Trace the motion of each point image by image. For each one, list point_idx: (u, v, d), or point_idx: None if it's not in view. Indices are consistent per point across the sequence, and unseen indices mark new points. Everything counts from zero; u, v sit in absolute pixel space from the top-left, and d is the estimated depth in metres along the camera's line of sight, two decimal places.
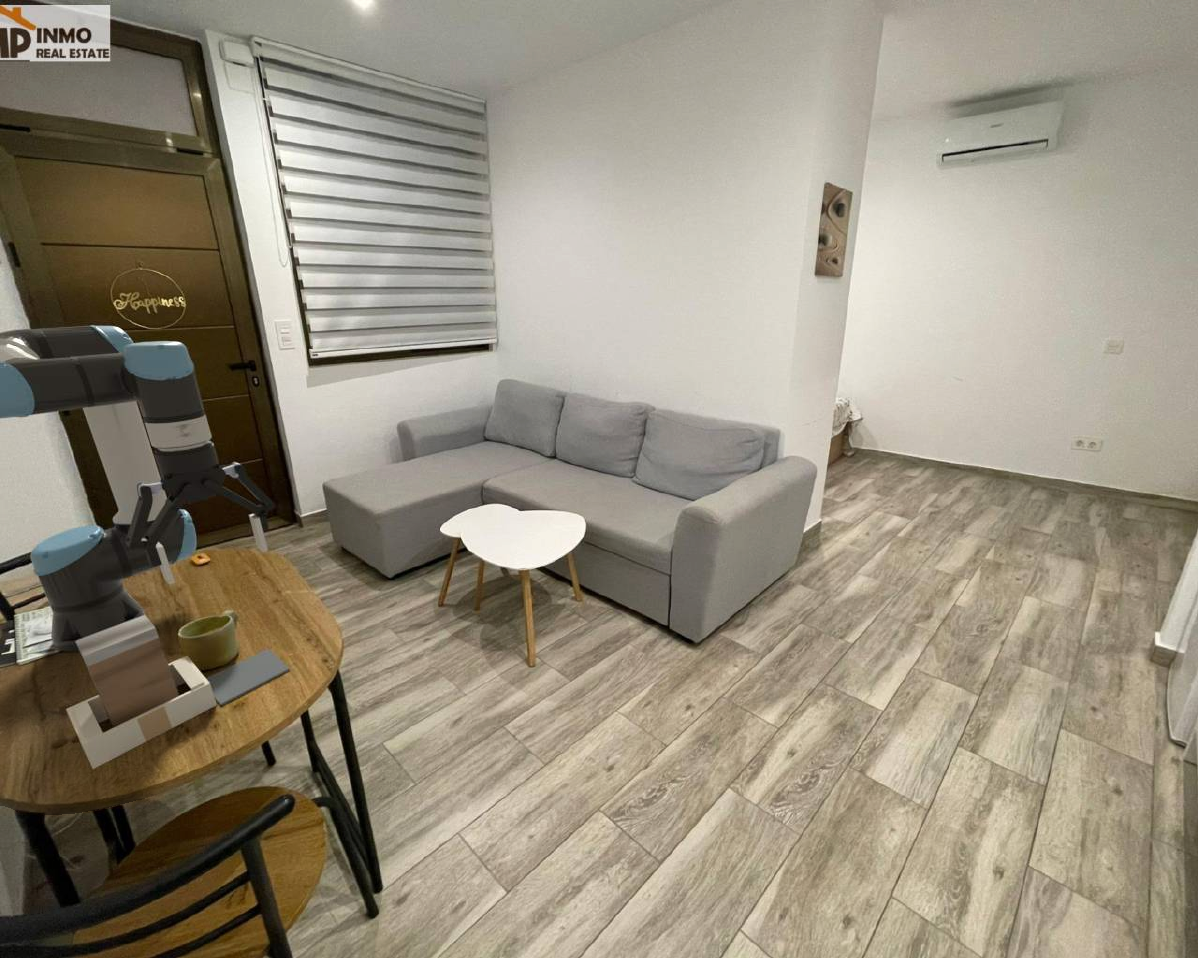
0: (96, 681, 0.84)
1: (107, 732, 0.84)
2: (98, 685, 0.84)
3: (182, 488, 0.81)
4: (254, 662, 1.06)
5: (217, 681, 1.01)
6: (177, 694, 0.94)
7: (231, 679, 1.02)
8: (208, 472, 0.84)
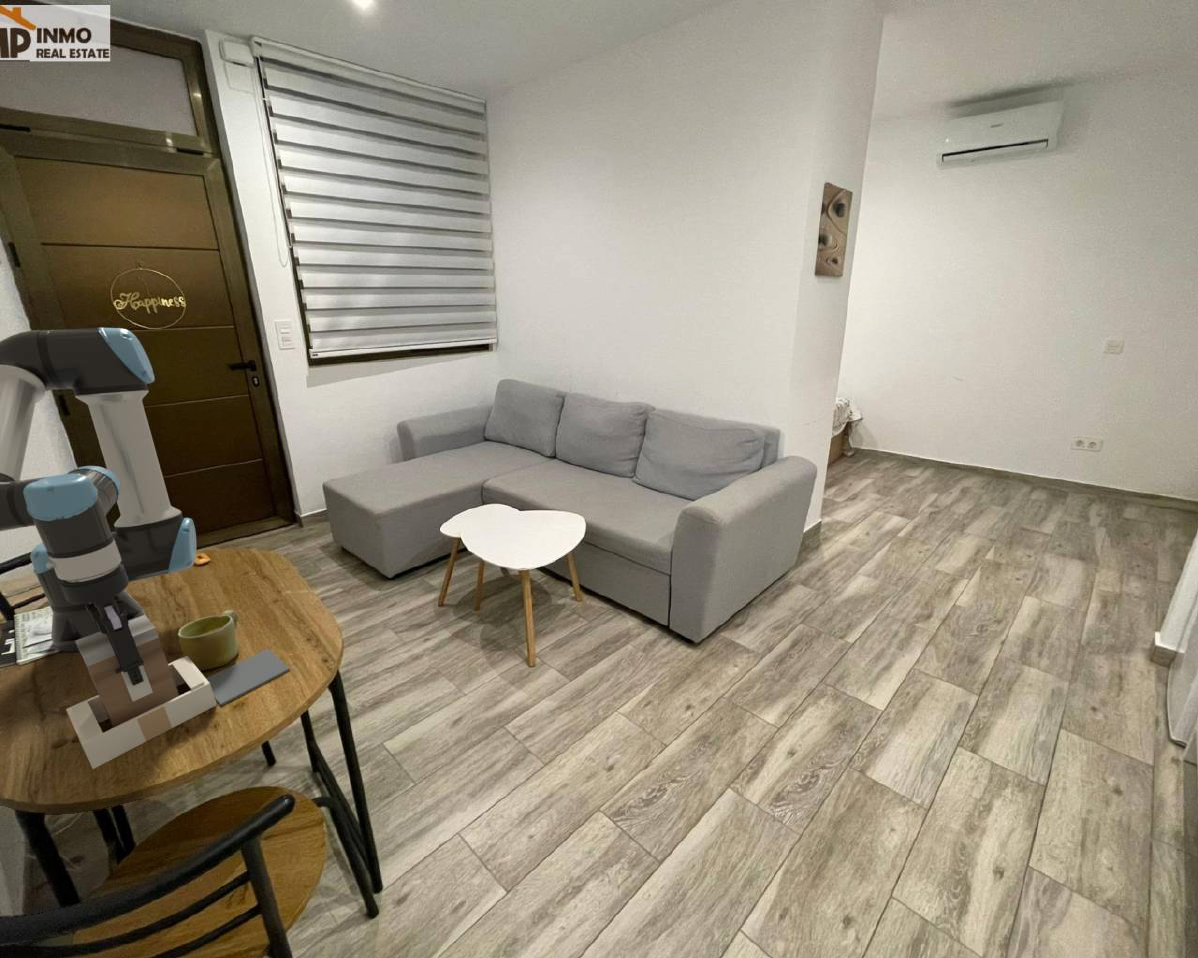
0: (96, 681, 0.84)
1: (107, 732, 0.84)
2: (98, 685, 0.84)
3: None
4: (254, 662, 1.06)
5: (217, 681, 1.01)
6: (177, 694, 0.93)
7: (231, 679, 1.02)
8: (95, 603, 0.82)
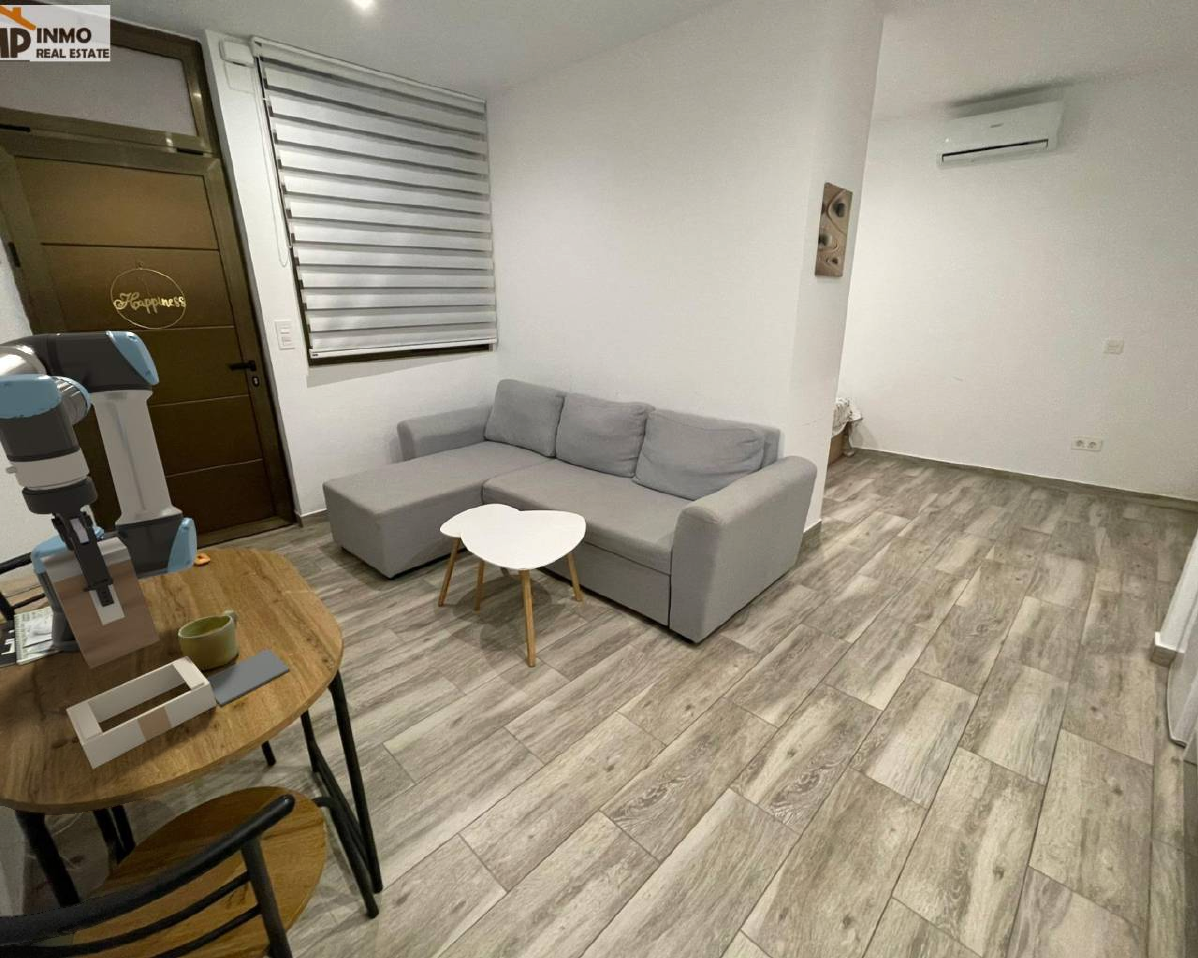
0: (62, 600, 0.79)
1: (107, 732, 0.84)
2: (64, 604, 0.79)
3: None
4: (254, 662, 1.06)
5: (217, 681, 1.01)
6: (152, 622, 0.88)
7: (231, 679, 1.02)
8: (60, 515, 0.77)
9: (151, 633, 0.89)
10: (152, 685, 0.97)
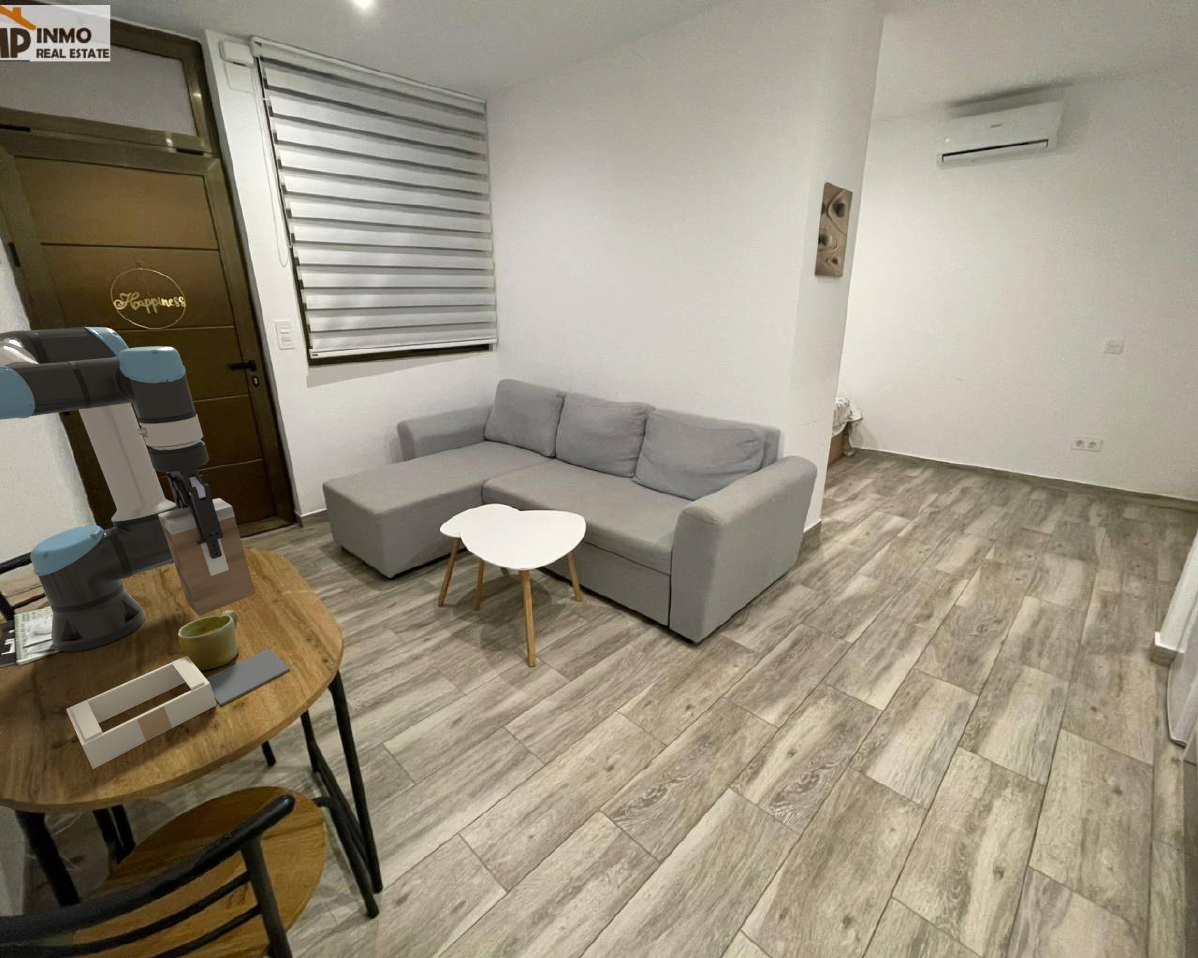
0: (179, 551, 0.87)
1: (107, 732, 0.84)
2: (181, 555, 0.88)
3: None
4: (254, 662, 1.06)
5: (217, 681, 1.01)
6: (249, 576, 0.97)
7: (231, 679, 1.02)
8: (180, 474, 0.86)
9: (249, 587, 0.97)
10: (152, 685, 0.97)
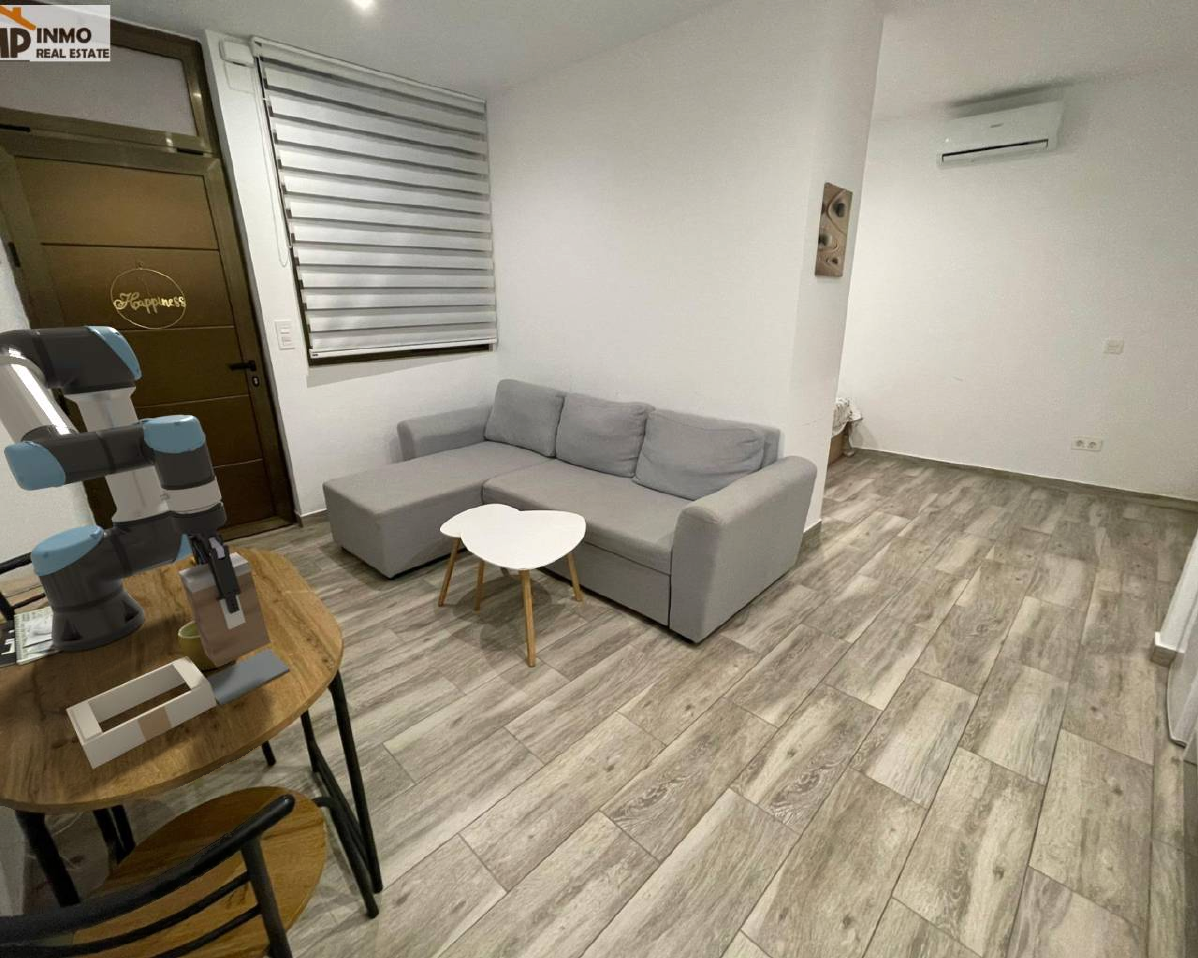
0: (199, 607, 0.91)
1: (107, 732, 0.84)
2: (200, 611, 0.92)
3: None
4: (254, 662, 1.06)
5: (217, 681, 1.01)
6: (264, 626, 1.01)
7: (231, 679, 1.02)
8: (200, 535, 0.90)
9: (264, 636, 1.01)
10: (152, 685, 0.97)
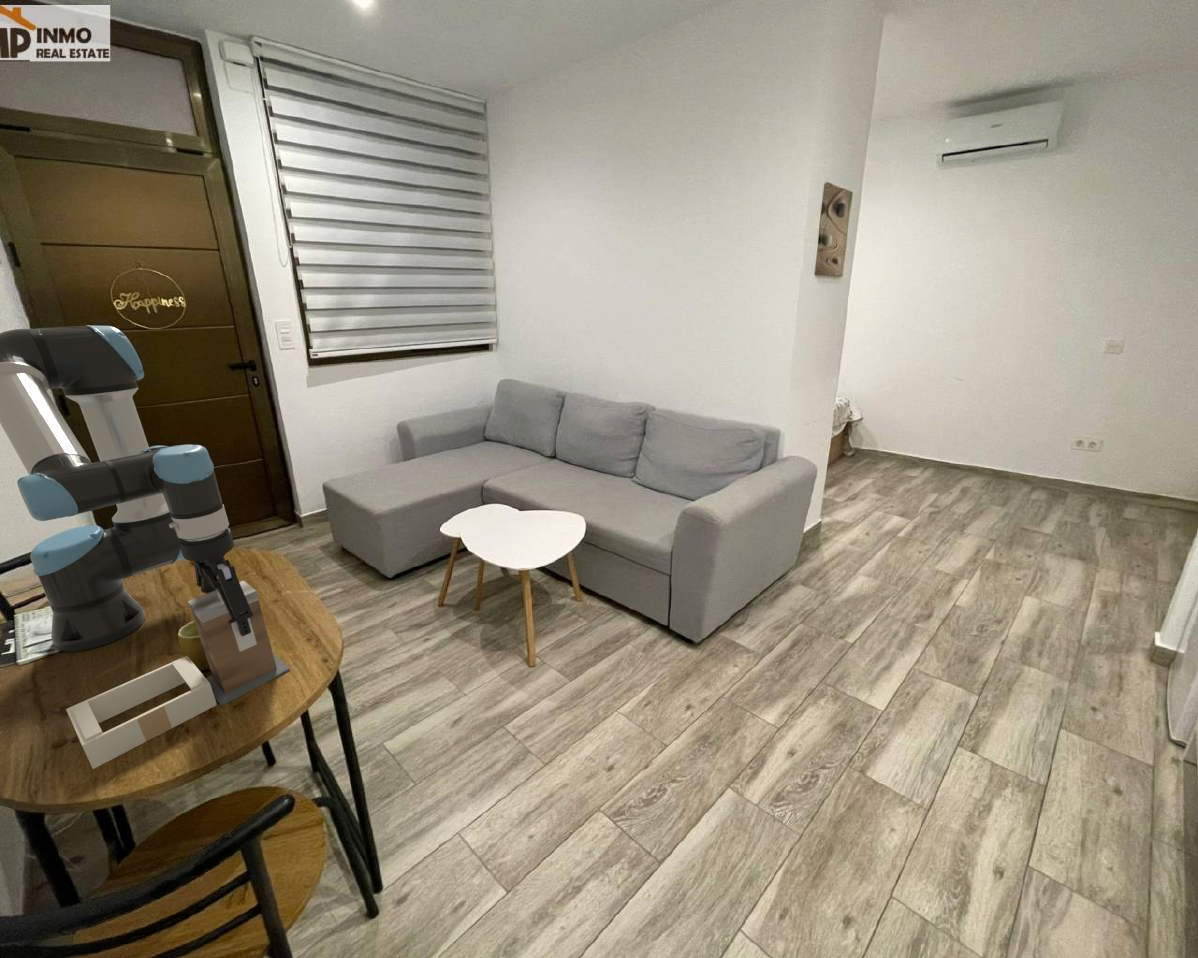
0: (208, 637, 0.94)
1: (107, 732, 0.84)
2: (210, 640, 0.94)
3: None
4: None
5: None
6: (271, 652, 1.03)
7: None
8: (208, 562, 0.92)
9: (271, 662, 1.04)
10: (152, 685, 0.97)
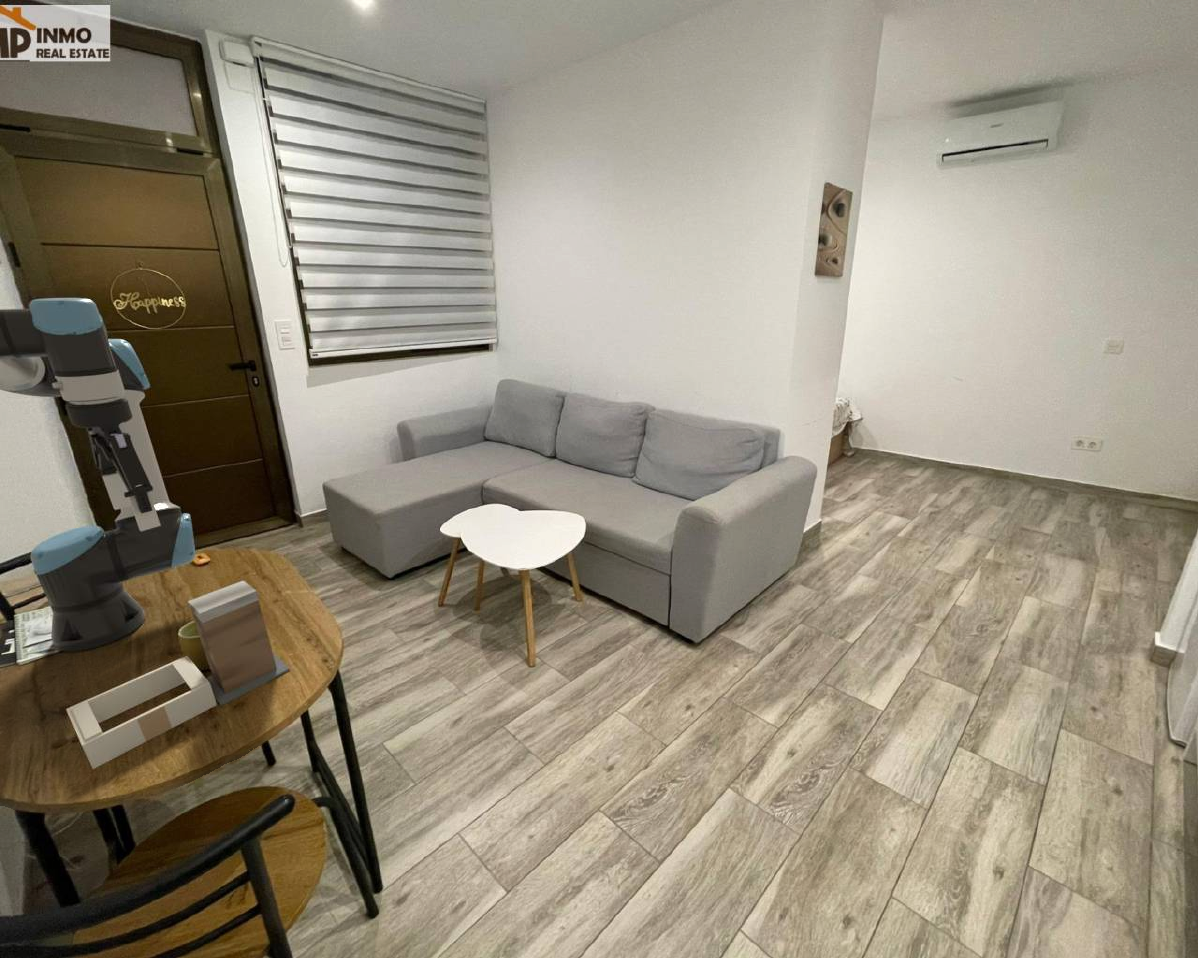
0: (208, 637, 0.94)
1: (107, 732, 0.84)
2: (210, 640, 0.94)
3: None
4: None
5: None
6: (271, 652, 1.03)
7: None
8: (100, 432, 0.85)
9: (271, 662, 1.04)
10: (152, 685, 0.97)
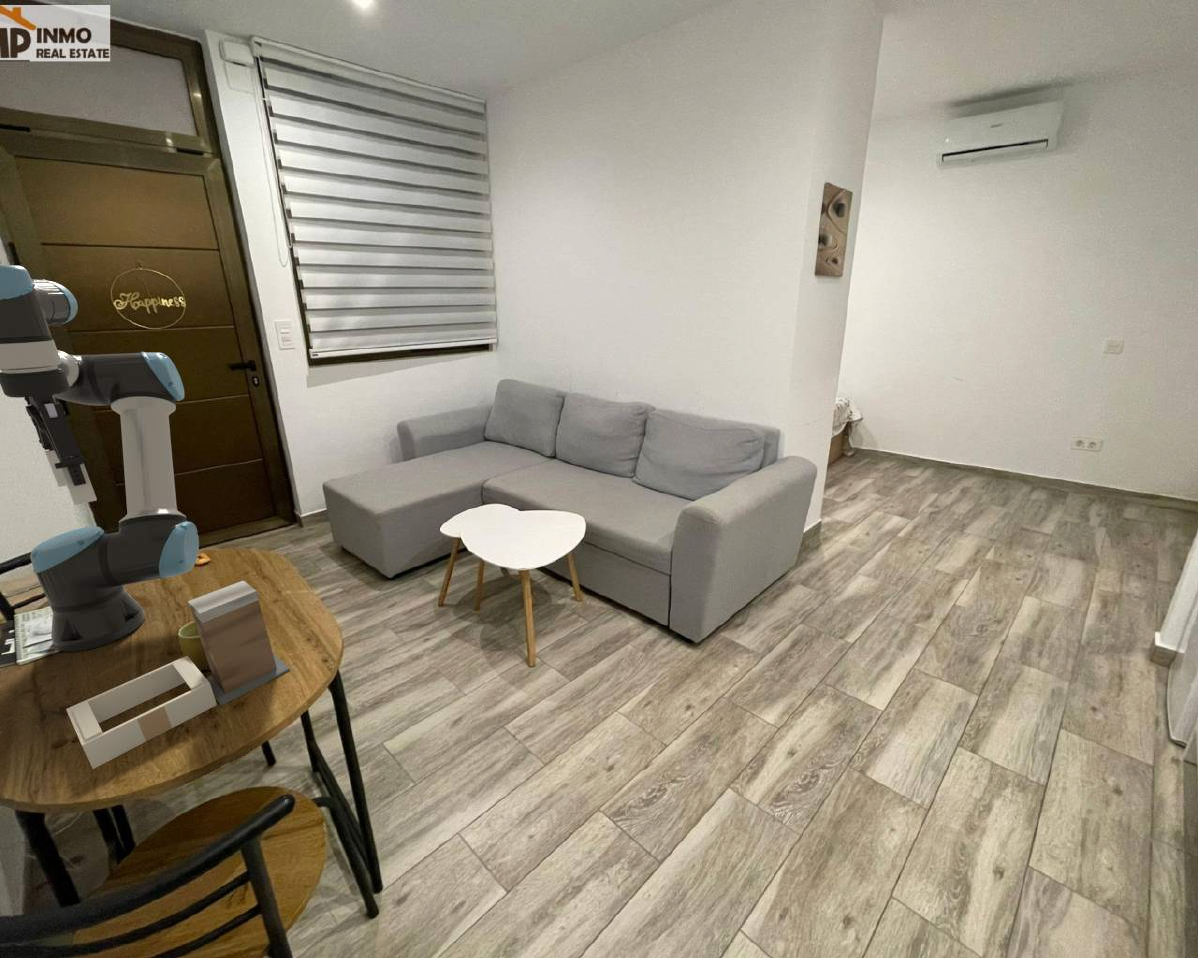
0: (208, 637, 0.94)
1: (107, 732, 0.84)
2: (210, 640, 0.94)
3: None
4: None
5: None
6: (271, 652, 1.03)
7: None
8: (34, 402, 0.83)
9: (271, 662, 1.04)
10: (152, 685, 0.97)
